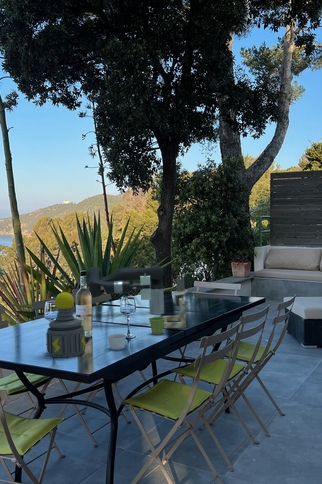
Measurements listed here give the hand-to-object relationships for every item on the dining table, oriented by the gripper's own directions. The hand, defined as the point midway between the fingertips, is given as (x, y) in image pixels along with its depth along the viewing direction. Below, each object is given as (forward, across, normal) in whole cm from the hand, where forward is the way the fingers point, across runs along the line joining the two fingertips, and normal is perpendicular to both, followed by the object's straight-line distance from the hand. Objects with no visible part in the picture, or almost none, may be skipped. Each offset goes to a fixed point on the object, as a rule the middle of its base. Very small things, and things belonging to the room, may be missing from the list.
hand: (149, 286), depth 301 cm
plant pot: (+3, -25, +24) cm, 35 cm away
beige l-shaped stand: (+14, 0, +24) cm, 28 cm away
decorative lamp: (-42, -60, +24) cm, 77 cm away
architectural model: (+23, +72, +24) cm, 79 cm away
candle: (-18, -54, +24) cm, 62 cm away
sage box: (-3, 0, +8) cm, 8 cm away
